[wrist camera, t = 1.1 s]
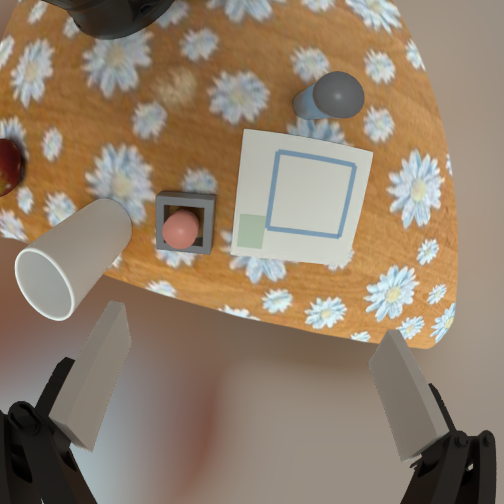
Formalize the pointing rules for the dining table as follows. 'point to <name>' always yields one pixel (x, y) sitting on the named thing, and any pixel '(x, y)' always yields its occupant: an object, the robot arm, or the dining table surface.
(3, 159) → the fruit
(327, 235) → the board
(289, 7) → the dining table surface
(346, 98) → the marker
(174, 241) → the button
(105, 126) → the dining table surface
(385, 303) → the dining table surface
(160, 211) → the button housing
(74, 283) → the cup
